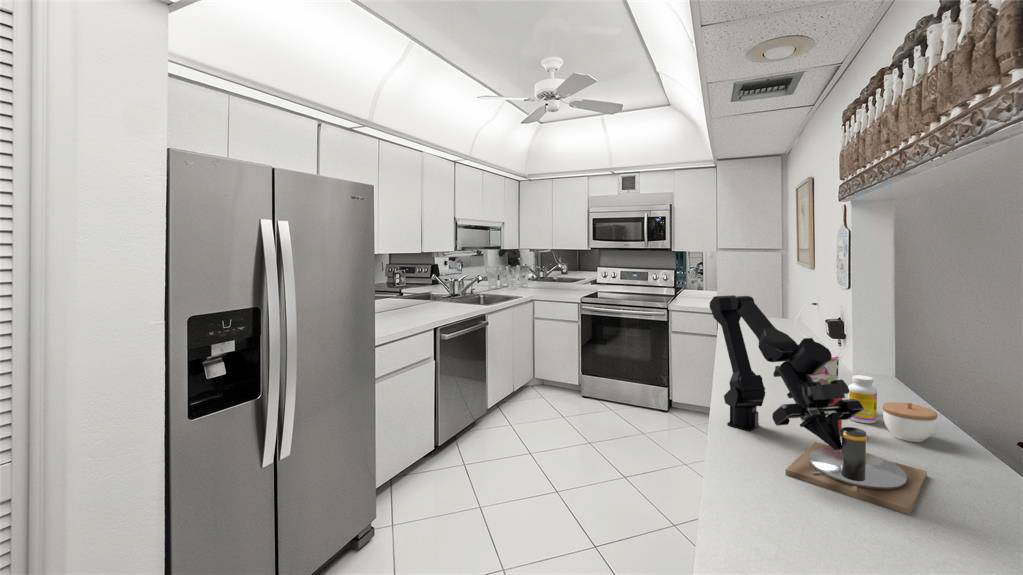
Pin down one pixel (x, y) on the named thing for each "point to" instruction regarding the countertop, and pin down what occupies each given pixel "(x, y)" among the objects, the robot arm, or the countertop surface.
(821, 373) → the candy bar box
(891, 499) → the base plate
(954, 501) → the countertop surface
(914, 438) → the lidded jar
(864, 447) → the dial
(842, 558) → the countertop surface
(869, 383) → the supplement bottle
